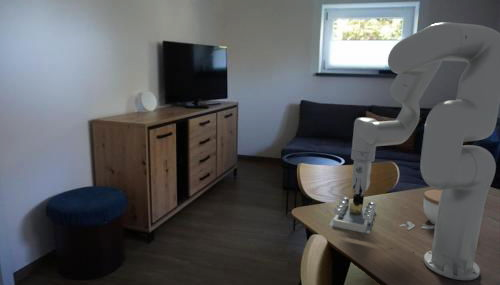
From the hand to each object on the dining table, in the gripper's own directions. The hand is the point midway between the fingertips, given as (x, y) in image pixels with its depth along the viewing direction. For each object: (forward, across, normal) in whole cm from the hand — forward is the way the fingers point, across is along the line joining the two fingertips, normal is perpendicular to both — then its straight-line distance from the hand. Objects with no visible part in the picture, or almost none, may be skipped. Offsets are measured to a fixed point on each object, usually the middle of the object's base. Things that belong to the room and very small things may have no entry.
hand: (357, 206), depth 125 cm
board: (+2, -8, 0) cm, 8 cm away
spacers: (+1, -5, 0) cm, 5 cm away
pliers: (+3, -2, -19) cm, 19 cm away
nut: (+1, -4, 0) cm, 4 cm away
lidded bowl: (+2, +5, -26) cm, 27 cm away
